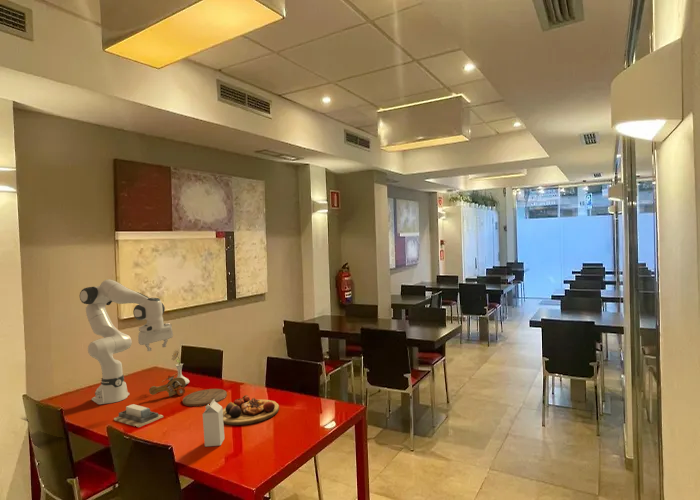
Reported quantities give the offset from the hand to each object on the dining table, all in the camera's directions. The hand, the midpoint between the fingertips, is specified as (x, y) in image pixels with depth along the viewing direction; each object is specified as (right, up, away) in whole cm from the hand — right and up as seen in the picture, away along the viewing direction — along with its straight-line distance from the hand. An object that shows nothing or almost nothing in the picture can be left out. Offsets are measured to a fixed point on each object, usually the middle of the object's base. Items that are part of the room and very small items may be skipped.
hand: (157, 349), depth 252 cm
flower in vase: (+1, -32, +33) cm, 46 cm away
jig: (-1, -33, -20) cm, 39 cm away
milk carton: (+51, -30, -56) cm, 82 cm away
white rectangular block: (-1, -32, -20) cm, 38 cm away
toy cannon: (+2, -32, +13) cm, 35 cm away
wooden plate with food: (+59, -30, -23) cm, 70 cm away
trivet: (+27, -31, +5) cm, 41 cm away
